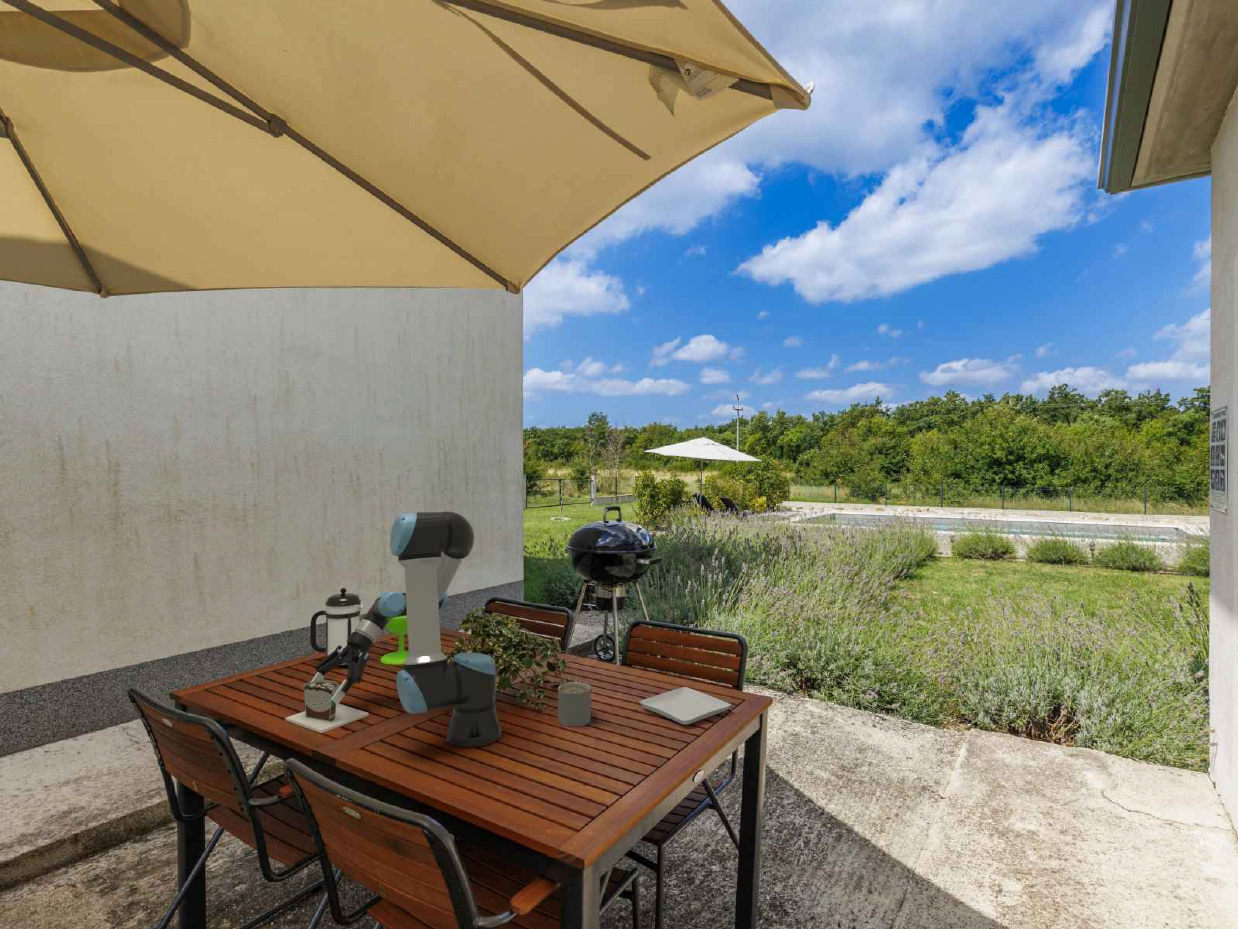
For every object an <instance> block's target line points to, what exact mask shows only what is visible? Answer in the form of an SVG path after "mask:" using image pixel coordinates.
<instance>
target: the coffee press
mask: <svg viewBox="0 0 1238 929" xmlns="http://www.w3.org/2000/svg"><path fill="white" fill-rule="evenodd" d="M339 591H340V593H336V594H332V595H330V596H329V597H328V598H326V601H325V602H324V605H325V607H326V608H325V610H319V611H317V612H315V613H314V614H313V615H312V616H311V619H310V631H309V634H310V640H309V641H310V645H311V647H312V649H313V650H314V651H315V652H318V653H323V654H325V658H326V657H327V656H329V655H330V654H331V653H332V652H333V651H334V650H335V649H336V648H337V647H338V646H339V645H340V646H342V647H343V648H345V647H346V646H347V639H348V638H349V637H350V635H351V634H352V633H353V632H355V628H356V627H357V625H358V624H359V623H360V621H361V617H360V616H361V609H362V610H364V606H363V603H362V600H361V598H360V597H359V595H357V594H355V593H351V592H350V593H349V592H348V593H347V589H346V588H345V587H342V588H340V590H339ZM321 616H325V647H321V646H319V645H318V644H317V621H318V620H317V619H318V618H319V617H321ZM340 658H341V657H340ZM344 665H345V666H346V668H347V669H348V667H349V664H345V663H344V664H340V665H339V666H344Z"/></svg>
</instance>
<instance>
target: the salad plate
mask: <svg viewBox="0 0 1238 929" xmlns="http://www.w3.org/2000/svg"><path fill="white" fill-rule="evenodd" d="M639 704H640V705H641V706H642V707H643V708H644V709H646V710H649V711H651V712H654V713H655V712H656V714H658V715H660V716H662V717H664V716H665V718H667V719H669V720H671V719H672V721H674V722H677V723H678V724H680V725H685V726H686V725H687V726H688V725H691V724H693V723H695V722H699V721H702V720H705V719H707V718H711V717H712V716H716V715H718V714H721V713H723V712H725V711H727V710H728V709H729V708H730V707H732V704H731V703H729V702H727V701H724V700H721V699H719V698H716V697H715V696H711V695H709V694H706V693H704V692H701V691H698V690H696V689H692V688H690V687H687V686H683V687H680V688H677V689H673V690H669V691H667V692H663V693H660V694H657V695H654V696H651V697H648V698H645V699H642V700H639ZM704 718H705V719H704Z"/></svg>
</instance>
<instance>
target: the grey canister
mask: <svg viewBox="0 0 1238 929" xmlns="http://www.w3.org/2000/svg"><path fill="white" fill-rule="evenodd" d="M591 704H592V687H591V685H589V684H588V683H585V682H579V681H578V682H577V681H572V682H567V683H566V682H565V683H563V684H560V685H559V686H558V688H557V723H558V724H560V725H561V726H564V727H568V726H571V728H572V727H573V728H575V727H576V726H579V727H583V726H586V725H588V724H590V723H591V720H592V719H591V717H592V716H591V715H592V714H591V713H592V712H591V711H592V708H591V707H592V705H591ZM589 722H590V723H589Z"/></svg>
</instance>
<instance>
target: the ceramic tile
mask: <svg viewBox="0 0 1238 929" xmlns="http://www.w3.org/2000/svg"><path fill="white" fill-rule="evenodd" d="M369 714H370V713H369V712H366V711H363V710H360V709H358V708H353V707H350V706H348V705H344V704H341V703H339V704H336V713H335V718H334V719H333V720H332V721H330V722H329V721H323V720H317V719H312V718H306V713H305V710H304V711H301V712H299V713H295V714H293V715H290V716H285V719H284V720H285V721H286V722H290V723H292V724H294V725H297V726H300V727H302V728H306V729H308V730H311V731H314V732H317V733H320V734H323V733H325V732H329V731H331V730H333V729H337V728H339V727H341V726H344V725H348V724H351V723H354V722H355V721H358V720H361V719H363V718H366V717H369Z"/></svg>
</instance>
